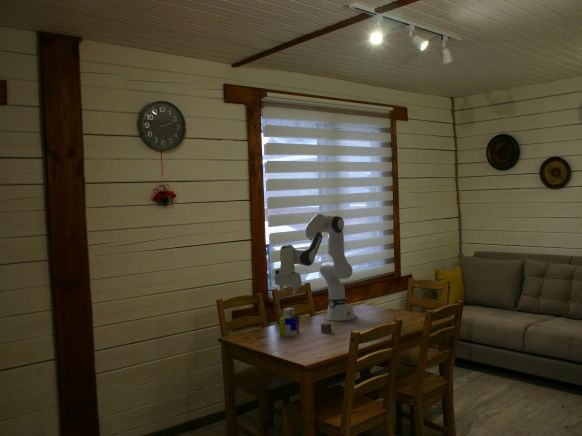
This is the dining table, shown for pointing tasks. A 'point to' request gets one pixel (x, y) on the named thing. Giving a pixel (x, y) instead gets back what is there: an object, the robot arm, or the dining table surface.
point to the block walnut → (326, 327)
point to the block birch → (288, 313)
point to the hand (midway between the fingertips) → (288, 293)
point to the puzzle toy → (289, 326)
